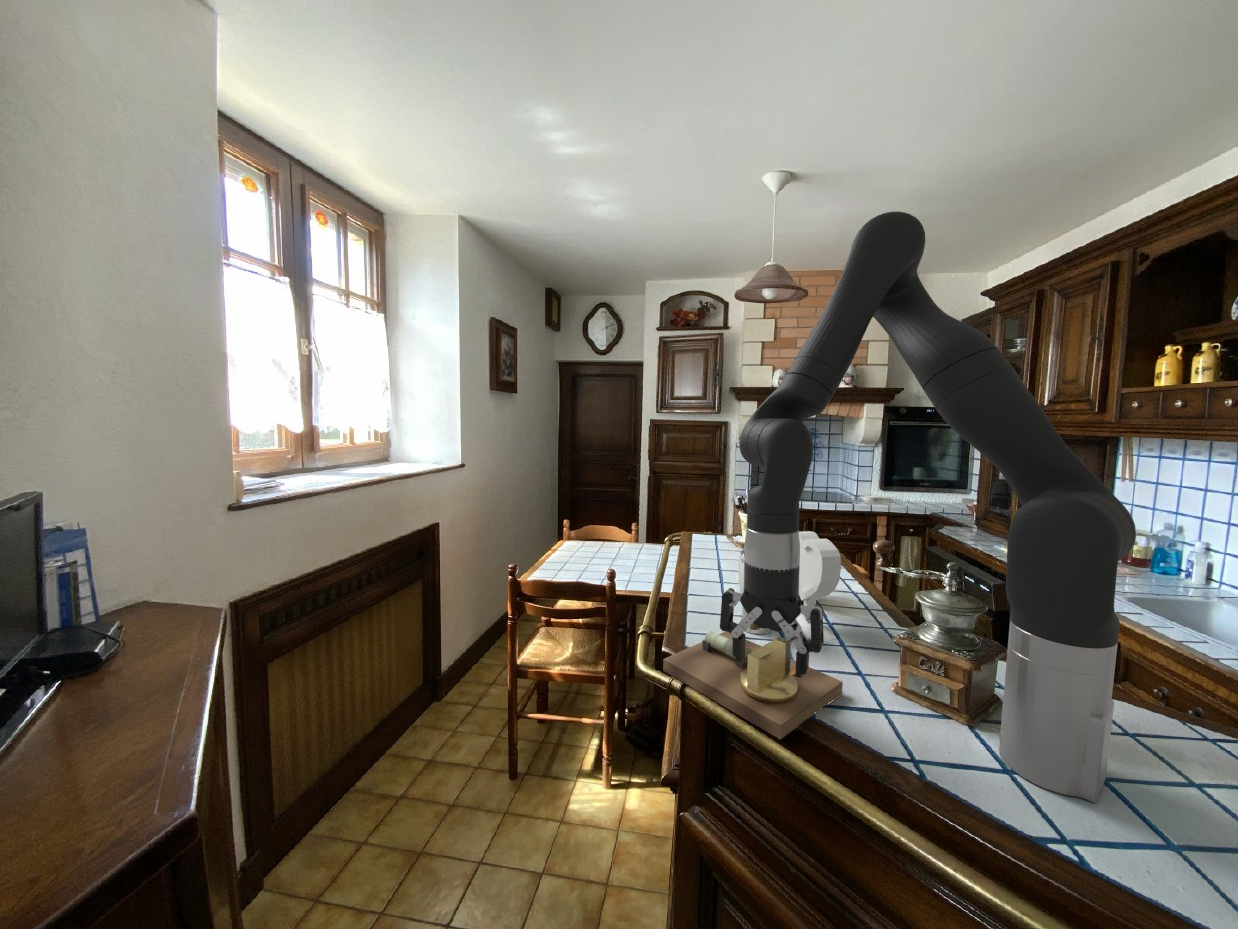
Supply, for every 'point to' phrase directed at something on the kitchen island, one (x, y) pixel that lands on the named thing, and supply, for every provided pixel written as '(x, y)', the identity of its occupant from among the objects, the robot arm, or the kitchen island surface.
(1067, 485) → the robot arm
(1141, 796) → the kitchen island surface
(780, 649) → the wing knob
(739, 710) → the knob and handle board
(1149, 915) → the kitchen island surface
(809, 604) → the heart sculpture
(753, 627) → the beer glass
